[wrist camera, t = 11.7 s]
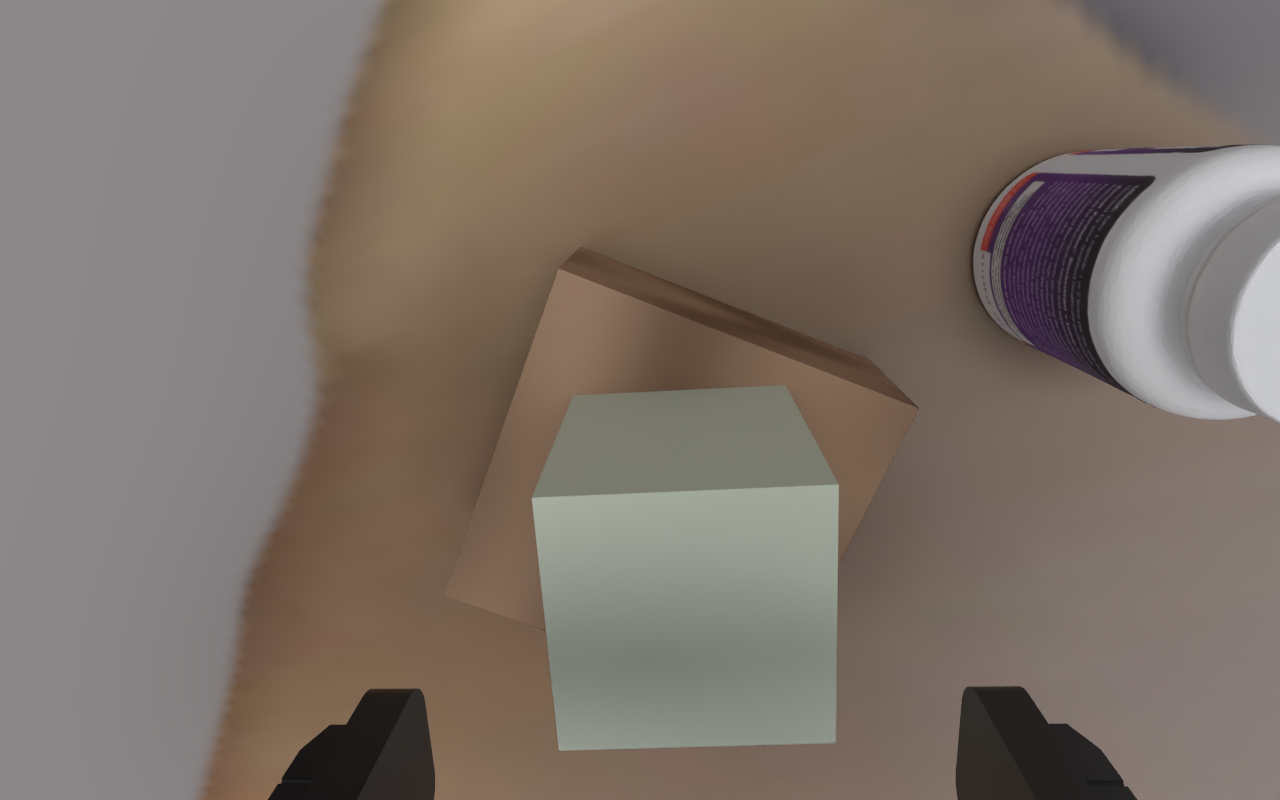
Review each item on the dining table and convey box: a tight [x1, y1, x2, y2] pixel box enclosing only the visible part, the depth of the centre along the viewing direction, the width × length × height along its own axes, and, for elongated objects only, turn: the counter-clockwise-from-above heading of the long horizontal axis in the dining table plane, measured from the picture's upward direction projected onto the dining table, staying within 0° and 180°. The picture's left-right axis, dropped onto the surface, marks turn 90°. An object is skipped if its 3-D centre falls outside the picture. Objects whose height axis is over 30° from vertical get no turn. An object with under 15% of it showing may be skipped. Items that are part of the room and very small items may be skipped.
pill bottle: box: [973, 145, 1280, 423], centre depth 17 cm, size 5×5×10 cm
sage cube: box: [532, 385, 839, 751], centre depth 16 cm, size 5×5×6 cm
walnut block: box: [444, 247, 919, 631], centre depth 22 cm, size 9×9×5 cm
